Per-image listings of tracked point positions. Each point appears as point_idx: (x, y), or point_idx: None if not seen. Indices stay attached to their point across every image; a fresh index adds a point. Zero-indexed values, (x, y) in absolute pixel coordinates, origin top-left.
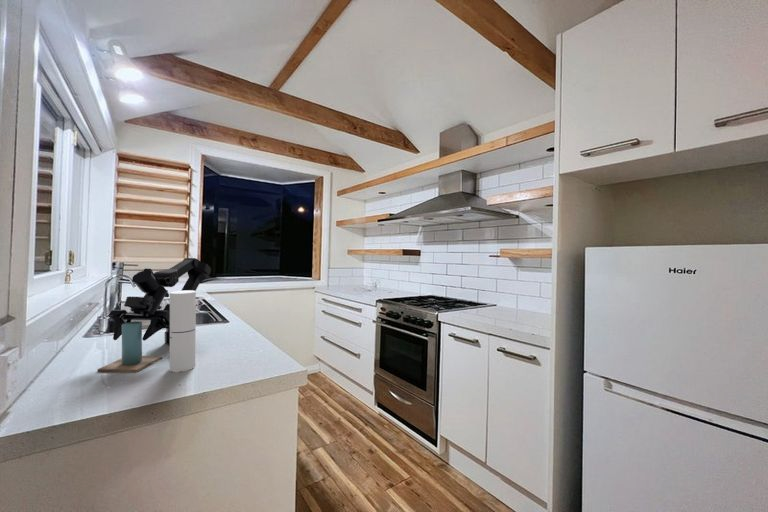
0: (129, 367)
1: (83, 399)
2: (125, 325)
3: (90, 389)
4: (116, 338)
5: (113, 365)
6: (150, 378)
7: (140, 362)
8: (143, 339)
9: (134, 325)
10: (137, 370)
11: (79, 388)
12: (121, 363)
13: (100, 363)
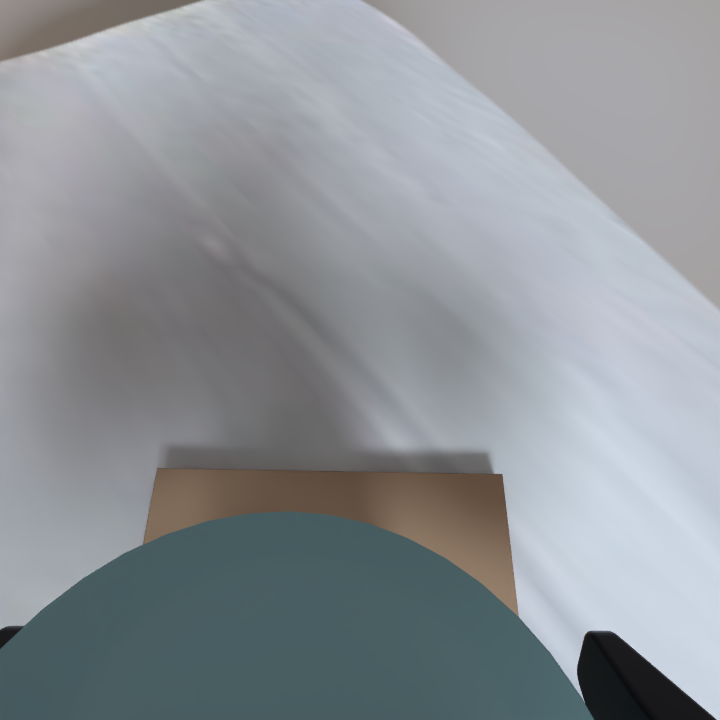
0: None
1: (247, 134)
2: (317, 536)
3: (299, 221)
4: (594, 697)
5: None
6: (5, 358)
7: None
8: (11, 627)
9: (25, 642)
10: (159, 473)
11: (373, 233)
12: None
13: None
